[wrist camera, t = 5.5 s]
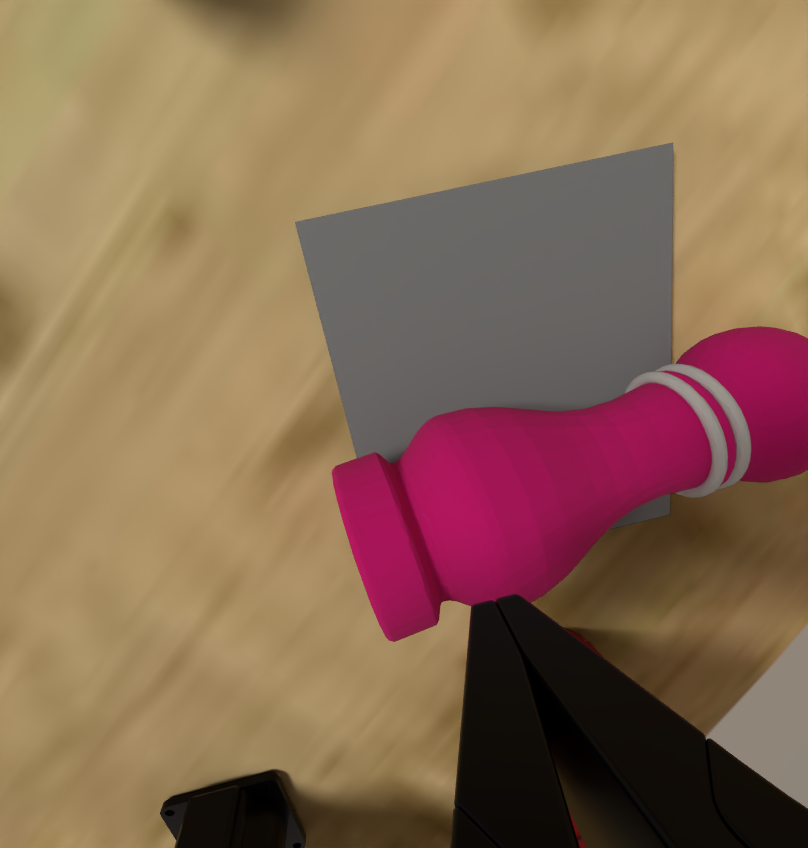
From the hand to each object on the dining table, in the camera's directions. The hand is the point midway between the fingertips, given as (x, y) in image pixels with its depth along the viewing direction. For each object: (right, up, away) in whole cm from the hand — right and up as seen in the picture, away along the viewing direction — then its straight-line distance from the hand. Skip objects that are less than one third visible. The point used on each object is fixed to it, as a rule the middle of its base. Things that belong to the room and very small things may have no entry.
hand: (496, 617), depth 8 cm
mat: (+3, +5, +12) cm, 13 cm away
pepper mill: (-3, -1, +8) cm, 9 cm away
